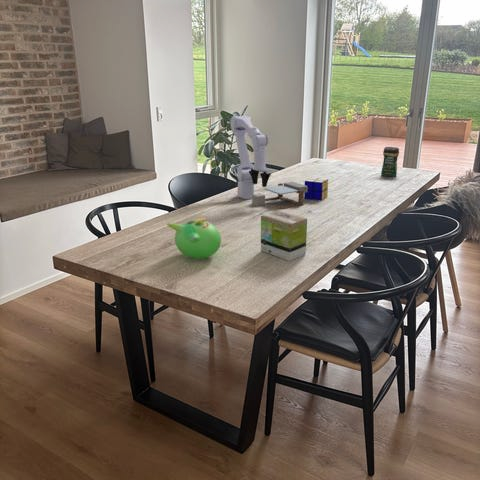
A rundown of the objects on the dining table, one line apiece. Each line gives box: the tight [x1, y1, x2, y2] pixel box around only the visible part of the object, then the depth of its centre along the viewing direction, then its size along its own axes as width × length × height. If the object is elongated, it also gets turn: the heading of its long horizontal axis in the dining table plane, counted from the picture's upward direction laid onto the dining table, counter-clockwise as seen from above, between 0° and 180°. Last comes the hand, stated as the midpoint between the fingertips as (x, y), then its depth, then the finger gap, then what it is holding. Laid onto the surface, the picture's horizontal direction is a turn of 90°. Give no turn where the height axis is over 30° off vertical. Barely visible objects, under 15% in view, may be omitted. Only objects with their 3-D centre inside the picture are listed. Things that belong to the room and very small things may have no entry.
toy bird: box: [166, 217, 222, 260], centre depth 182 cm, size 18×17×15 cm
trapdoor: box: [263, 181, 308, 195], centre depth 255 cm, size 16×18×3 cm
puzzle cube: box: [304, 177, 329, 202], centre depth 264 cm, size 10×10×10 cm
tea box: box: [260, 210, 308, 262], centre depth 184 cm, size 15×10×15 cm, turn 45°
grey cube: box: [251, 192, 266, 207], centre depth 254 cm, size 5×5×5 cm
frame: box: [265, 182, 305, 210], centre depth 255 cm, size 19×14×8 cm
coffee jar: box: [380, 146, 400, 178], centre depth 314 cm, size 10×8×19 cm
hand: (259, 185), depth 251 cm, fingers open, 7 cm apart
